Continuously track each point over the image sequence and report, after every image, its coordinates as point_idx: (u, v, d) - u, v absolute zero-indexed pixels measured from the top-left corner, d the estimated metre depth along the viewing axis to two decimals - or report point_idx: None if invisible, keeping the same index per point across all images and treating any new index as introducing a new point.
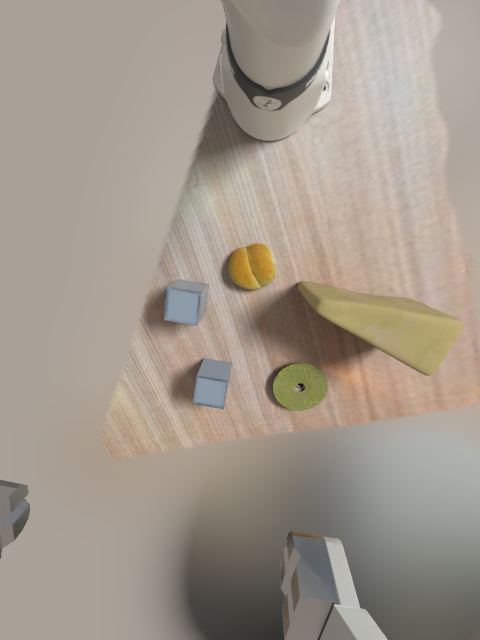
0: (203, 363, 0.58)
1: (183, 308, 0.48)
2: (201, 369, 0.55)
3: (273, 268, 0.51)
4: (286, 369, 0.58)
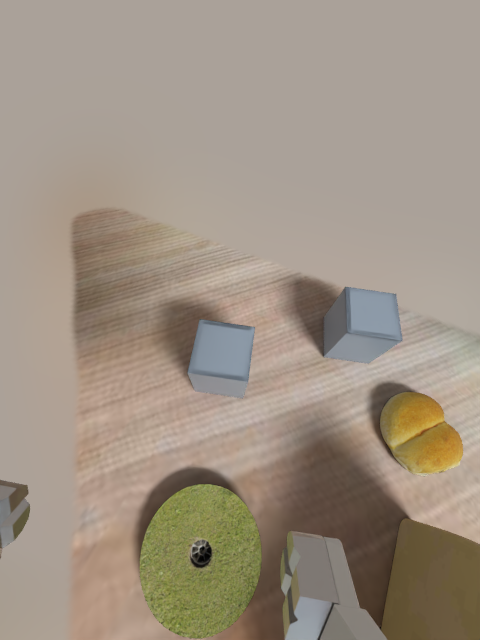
0: None
1: (370, 314, 0.32)
2: None
3: (439, 468, 0.30)
4: (244, 513, 0.28)
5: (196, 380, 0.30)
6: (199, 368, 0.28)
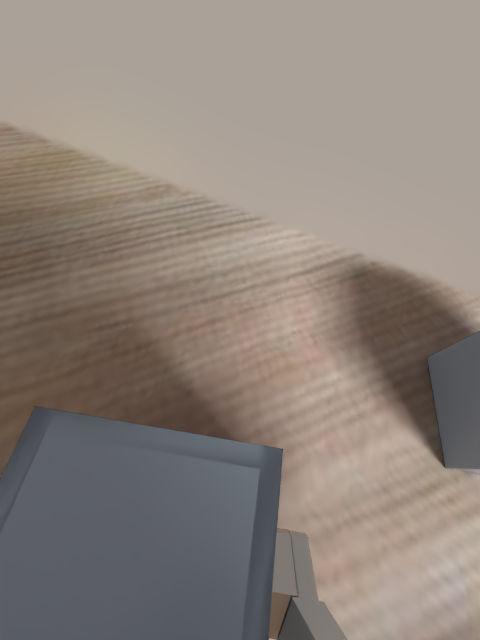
0: None
1: None
2: None
3: None
4: None
5: None
6: None
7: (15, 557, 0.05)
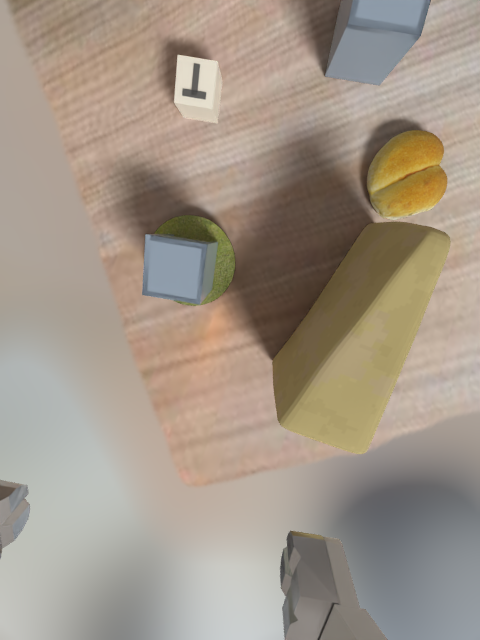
0: (214, 245, 0.32)
1: None
2: (211, 247, 0.29)
3: (408, 211, 0.31)
4: (222, 238, 0.34)
5: None
6: (152, 290, 0.28)
7: (153, 264, 0.28)
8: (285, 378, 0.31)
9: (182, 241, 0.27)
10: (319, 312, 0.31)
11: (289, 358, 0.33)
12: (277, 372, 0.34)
